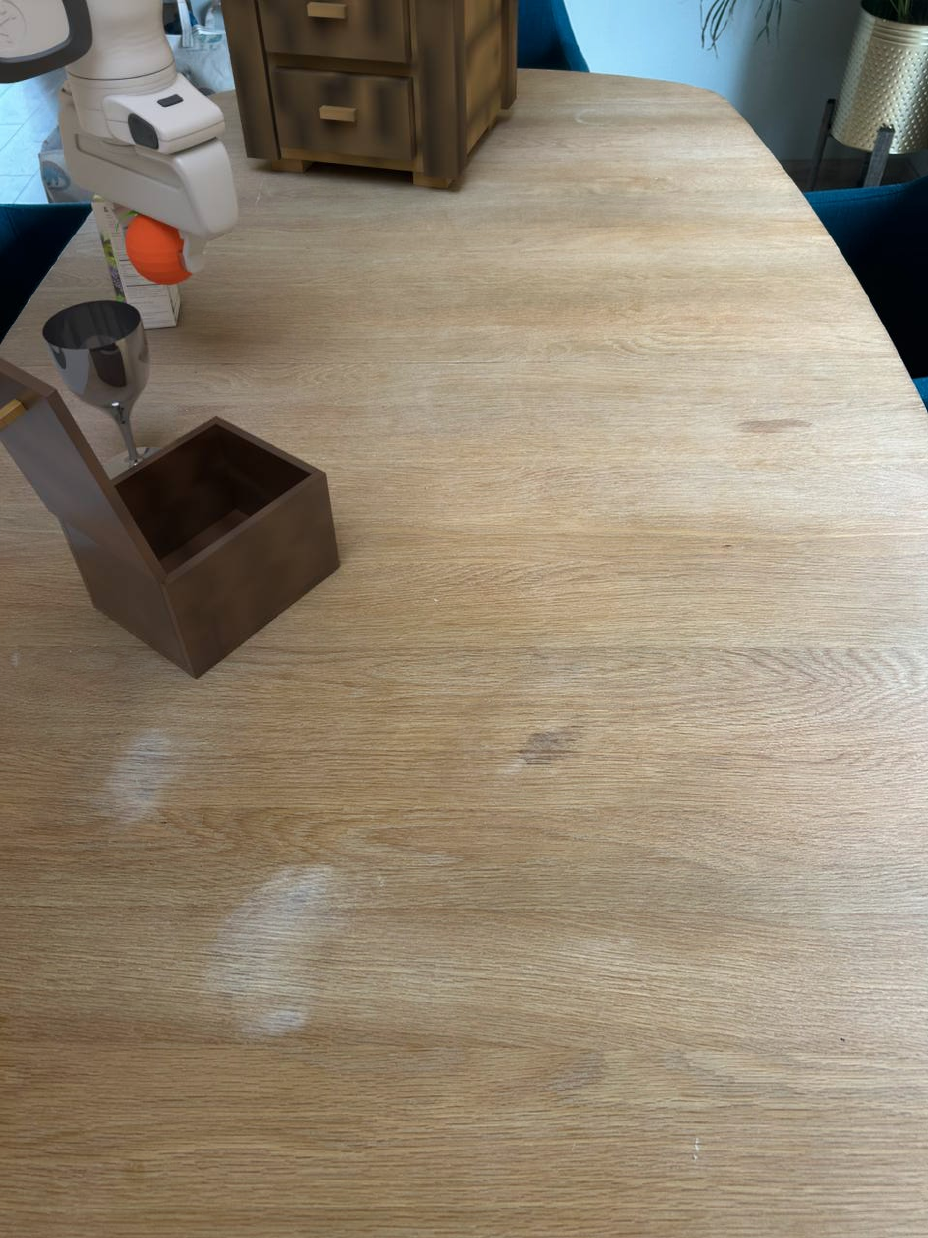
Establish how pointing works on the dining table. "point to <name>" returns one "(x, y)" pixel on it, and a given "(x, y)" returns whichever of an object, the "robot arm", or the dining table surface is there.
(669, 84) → the dining table surface
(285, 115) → the wooden drawer cabinet
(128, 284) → the syrup box
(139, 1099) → the dining table surface
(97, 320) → the wine glass
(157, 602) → the chest
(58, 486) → the lid
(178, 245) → the clementine
